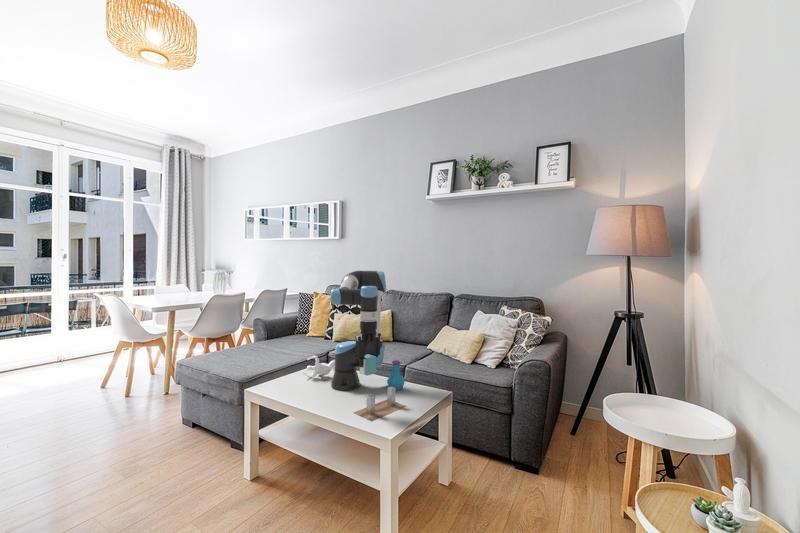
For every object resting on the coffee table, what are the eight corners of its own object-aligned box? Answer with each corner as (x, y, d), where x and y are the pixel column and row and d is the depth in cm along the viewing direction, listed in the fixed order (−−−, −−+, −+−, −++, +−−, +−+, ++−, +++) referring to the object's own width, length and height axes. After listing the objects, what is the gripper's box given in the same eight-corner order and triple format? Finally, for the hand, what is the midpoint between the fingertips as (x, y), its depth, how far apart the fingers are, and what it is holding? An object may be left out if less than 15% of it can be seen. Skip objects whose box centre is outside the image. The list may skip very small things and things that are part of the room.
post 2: (387, 405, 168) (387, 387, 168) (391, 403, 170) (391, 386, 170) (391, 406, 167) (391, 389, 167) (395, 405, 169) (395, 387, 168)
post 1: (366, 413, 159) (366, 395, 159) (370, 411, 161) (371, 393, 161) (370, 415, 157) (370, 396, 157) (374, 413, 159) (375, 395, 159)
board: (352, 415, 159) (352, 412, 159) (388, 401, 176) (388, 399, 176) (371, 423, 151) (371, 421, 151) (406, 408, 167) (406, 406, 167)
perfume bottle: (402, 393, 186) (403, 364, 186) (385, 391, 188) (385, 363, 187) (405, 387, 195) (406, 359, 195) (389, 385, 197) (389, 358, 196)
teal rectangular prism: (359, 373, 162) (359, 356, 162) (368, 371, 166) (368, 354, 166) (367, 375, 159) (367, 358, 159) (376, 373, 162) (376, 356, 163)
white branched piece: (328, 353, 221) (307, 354, 205) (344, 361, 214) (324, 362, 199) (322, 373, 221) (300, 376, 205) (337, 382, 214) (317, 385, 199)
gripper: (358, 323, 153) (357, 378, 153) (389, 319, 167) (388, 370, 166) (347, 321, 159) (346, 375, 158) (377, 318, 172) (376, 367, 172)
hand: (367, 372), depth 162 cm, fingers closed on teal rectangular prism, 5 cm apart
